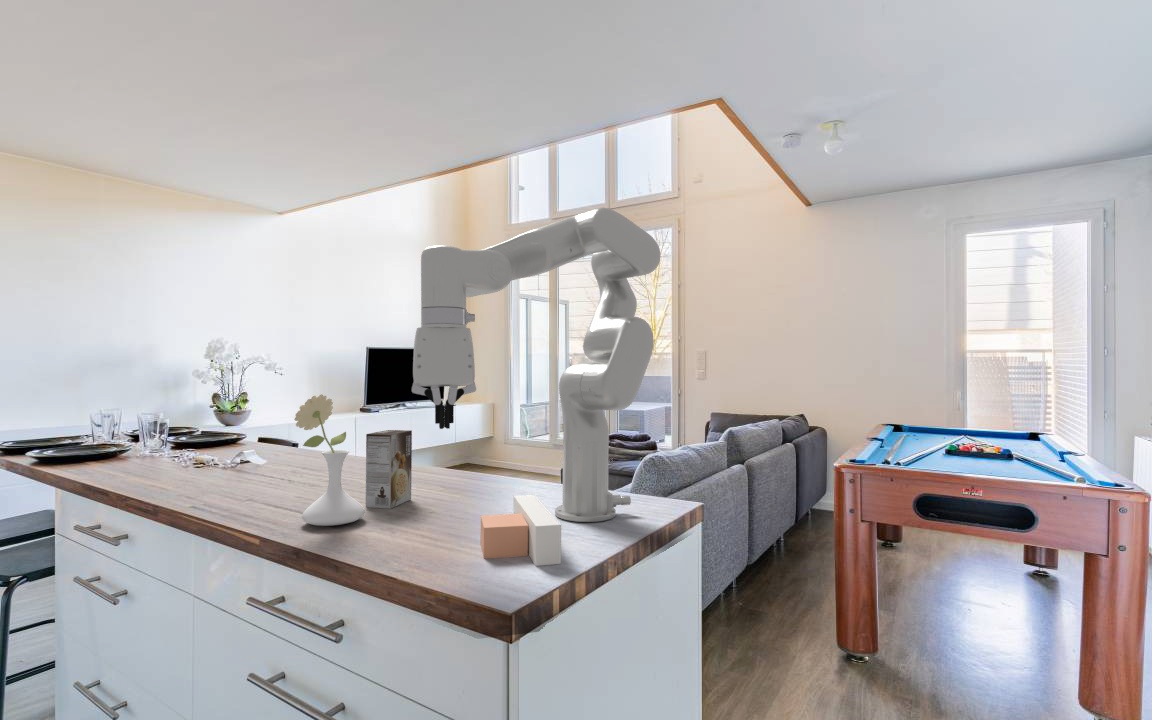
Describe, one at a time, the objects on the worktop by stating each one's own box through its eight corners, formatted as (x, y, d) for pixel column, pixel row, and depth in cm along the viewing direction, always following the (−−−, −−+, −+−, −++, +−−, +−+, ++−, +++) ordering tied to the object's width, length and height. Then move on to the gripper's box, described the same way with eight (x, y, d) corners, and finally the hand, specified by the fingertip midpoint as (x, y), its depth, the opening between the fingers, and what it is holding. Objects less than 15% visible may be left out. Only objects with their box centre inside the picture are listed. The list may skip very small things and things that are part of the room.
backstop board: (533, 526, 107) (534, 494, 108) (560, 563, 86) (561, 524, 86) (513, 527, 106) (513, 495, 106) (535, 565, 85) (535, 526, 85)
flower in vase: (351, 512, 117) (354, 392, 117) (374, 523, 108) (377, 394, 109) (283, 523, 108) (287, 393, 108) (303, 536, 99) (306, 395, 100)
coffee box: (386, 498, 130) (387, 429, 131) (411, 500, 129) (413, 430, 129) (364, 507, 121) (365, 433, 122) (391, 509, 120) (392, 434, 120)
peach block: (520, 542, 98) (521, 513, 98) (527, 556, 90) (527, 525, 90) (480, 544, 96) (480, 515, 96) (483, 559, 88) (484, 527, 89)
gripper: (485, 322, 101) (485, 424, 101) (398, 321, 97) (398, 427, 97) (490, 319, 94) (491, 428, 94) (397, 317, 90) (397, 432, 89)
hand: (444, 427), depth 95 cm, fingers closed
